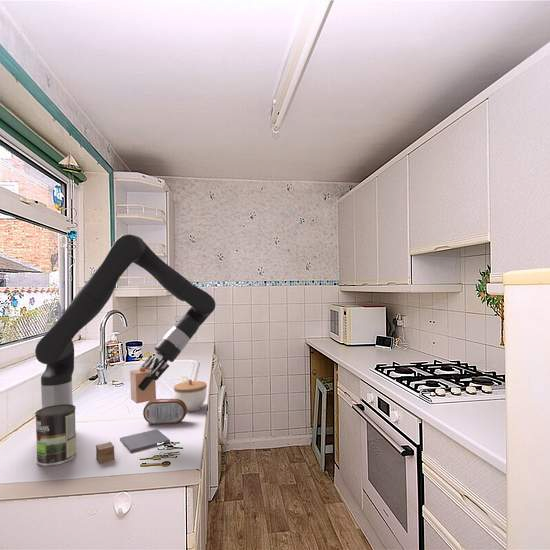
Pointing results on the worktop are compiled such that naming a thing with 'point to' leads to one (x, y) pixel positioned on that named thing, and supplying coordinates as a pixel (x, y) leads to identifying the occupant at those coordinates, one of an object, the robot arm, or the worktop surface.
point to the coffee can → (55, 434)
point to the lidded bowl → (191, 394)
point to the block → (105, 452)
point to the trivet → (143, 440)
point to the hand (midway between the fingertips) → (137, 386)
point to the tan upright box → (136, 392)
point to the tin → (165, 411)
